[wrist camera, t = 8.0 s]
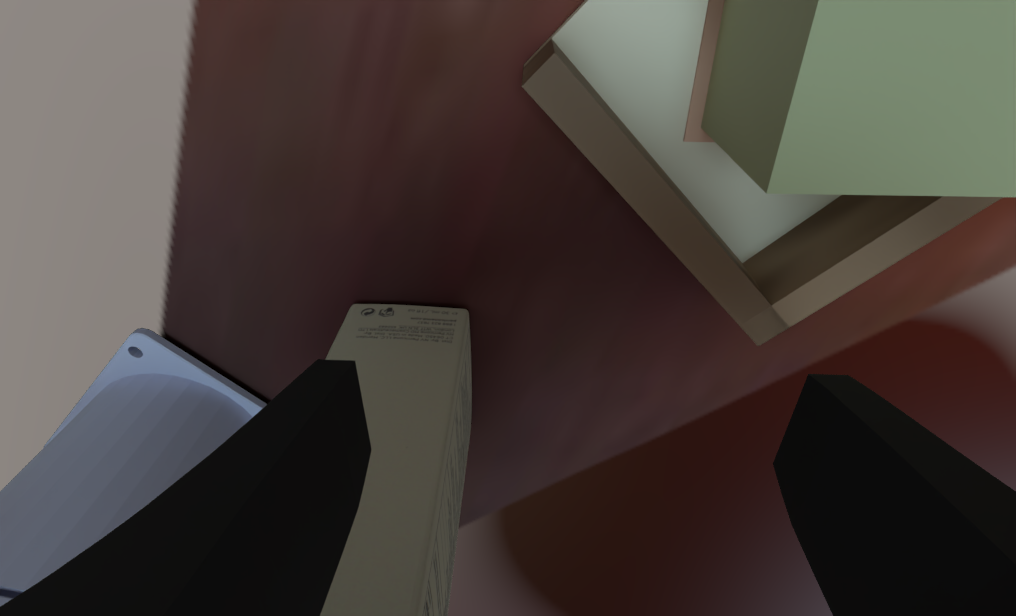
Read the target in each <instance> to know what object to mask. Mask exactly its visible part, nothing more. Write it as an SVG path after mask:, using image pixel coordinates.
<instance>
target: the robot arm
mask: <svg viewBox="0 0 1016 616" xmlns="http://www.w3.org/2000/svg"><path fill="white" fill-rule="evenodd" d="M138 348H139V349H140V350H139V349H138ZM371 450H372V449H371V443H370V438H369V433H368V427H367V422H366V417H365V411H364V406H363V400H362V395H361V390H360V384H359V379H358V374H357V368H356V363H355V361H354V360H320V359H318V360H317V361H316V362H314V363H313V364H312V365H311V366H310V367H308V368H307V369H306V370H305V371H304V372H303V373H302V374H301V375H299V376H298V377H297V378H296V379H295V380H294V381H293V382H292V383H291V384H289V385H288V386H287V387H286V388H285V389H284V390H283V391H282V392H281V393H279V394H278V395H277V396H276V397H275V398H274V399H273V400H272V401H271V402H269V403H268V404H266V403H265V402H263V401H262V400H260V399H258V398H257V397H255V396H254V395H252V394H251V393H249V392H247V391H246V390H244V389H243V388H241V387H240V386H238V385H236V384H235V383H233V382H232V381H230V380H229V379H227V378H225V377H224V376H222V375H221V374H219V373H218V372H216V371H214V370H213V369H211V368H210V367H208V366H207V365H205V364H203V363H202V362H200V361H199V360H197V359H196V358H194V357H192V356H191V355H189V354H188V353H186V352H185V351H183V350H181V349H180V348H178V347H177V346H175V345H174V344H172V343H170V342H169V341H167V340H166V339H164V338H163V337H161V336H159V335H158V334H156V333H155V332H153V331H151V330H149V329H144V328H140V329H137V330H135V331H134V332H133V333H132V334H131V335H130V336H129V337H128V338H127V339H126V341H125V342H124V343H123V345H122V346H121V347H120V349H119V350H118V351H117V353H116V354H115V355H114V356H113V358H112V359H111V360H110V361H109V363H108V364H107V365H106V367H105V368H104V369H103V371H102V372H101V373H100V374H99V376H98V377H97V378H96V380H95V381H94V382H93V383H92V385H91V386H90V387H89V389H88V390H87V391H86V393H85V394H84V395H83V396H82V398H81V399H80V400H79V402H78V403H77V404H76V406H75V407H74V408H73V409H72V411H71V412H70V413H69V415H68V416H67V417H66V418H65V420H64V421H63V422H62V424H61V425H60V426H59V428H58V429H57V430H56V432H55V433H54V434H53V435H52V437H51V438H50V439H49V440H48V442H47V443H46V444H45V446H44V448H43V450H41V451H40V452H39V453H38V454H37V455H36V456H35V457H34V458H33V460H31V461H30V462H29V463H28V464H27V465H26V466H25V468H23V469H22V470H21V471H20V472H19V473H18V474H17V475H16V476H15V477H14V478H13V479H12V480H11V481H10V482H9V483H8V485H6V486H5V487H4V488H3V489H2V490H1V492H0V616H320V614H321V612H322V609H323V606H324V603H325V600H326V598H327V595H328V592H329V589H330V587H331V584H332V581H333V578H334V576H335V573H336V570H337V567H338V564H339V562H340V559H341V556H342V553H343V551H344V548H345V545H346V542H347V539H348V536H349V534H350V531H351V528H352V525H353V522H354V519H355V516H356V513H357V511H358V508H359V503H360V499H361V495H362V491H363V487H364V483H365V478H366V473H367V469H368V464H369V460H370V455H371ZM773 465H774V468H775V472H776V476H777V479H778V483H779V486H780V489H781V493H782V496H783V499H784V502H785V505H786V509H787V512H788V515H789V518H790V521H791V524H792V526H793V528H794V531H795V533H796V535H797V538H798V540H799V542H800V544H801V547H802V549H803V551H804V553H805V555H806V558H807V560H808V562H809V564H810V566H811V569H812V571H813V573H814V575H815V577H816V580H817V582H818V584H819V586H820V588H821V590H822V593H823V595H824V597H825V599H826V601H827V603H828V605H829V608H830V610H831V612H832V614H833V616H1016V491H1014V490H1013V489H1011V488H1010V487H1008V486H1007V485H1005V484H1004V483H1002V482H1001V481H1000V480H998V479H997V478H995V477H994V476H992V475H991V474H990V473H988V472H987V471H985V470H984V469H982V468H981V467H980V466H978V465H977V464H975V463H974V462H972V461H971V460H970V459H968V458H967V457H965V456H964V455H963V454H961V453H960V452H958V451H957V450H955V449H954V448H952V447H951V446H950V445H948V444H947V443H946V442H944V441H943V440H941V439H940V438H938V437H937V436H936V435H934V434H933V433H931V432H930V431H929V430H927V429H926V428H925V427H923V426H922V425H920V424H919V423H918V422H916V421H915V420H913V419H912V418H911V417H909V416H908V415H906V414H905V413H904V412H902V411H901V410H899V409H898V408H896V407H895V406H893V405H892V404H891V403H889V402H888V401H886V400H885V399H883V398H882V397H881V396H879V395H878V394H876V393H875V392H873V391H872V390H870V389H869V388H867V387H866V386H864V385H863V384H861V383H859V382H858V381H856V380H855V379H853V378H852V377H850V376H848V375H823V374H822V375H821V374H808V376H807V379H806V382H805V384H804V387H803V389H802V392H801V394H800V397H799V399H798V402H797V404H796V407H795V410H794V412H793V414H792V417H791V419H790V422H789V425H788V427H787V430H786V432H785V435H784V437H783V440H782V442H781V445H780V447H779V450H778V452H777V455H776V457H775V460H774V462H773Z"/></svg>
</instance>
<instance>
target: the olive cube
mask: <svg viewBox="0 0 1016 616" xmlns="http://www.w3.org/2000/svg"><path fill="white" fill-rule="evenodd" d="M701 128H702V129H703V130H704V131H705V132H706V133H707V134H708V135H709V136H710V137H711V138H712V139H713V140H714V141H715V142H716V143H717V144H718V145H719V146H720V147H721V148H722V149H723V150H724V151H725V152H726V153H727V154H728V155H729V156H730V157H731V158H732V160H733V161H734V162H735V163H736V164H737V165H738V166H739V167H740V168H741V169H742V170H743V171H744V172H745V173H746V174H747V175H748V176H749V177H750V178H751V179H752V180H753V181H754V182H755V183H756V184H757V185H758V186H759V187H760V188H761V189H762V190H763V191H764V192H765V193H766V194H823V195H895V196H966V197H1016V0H725V2H724V7H723V13H722V18H721V23H720V29H719V34H718V39H717V44H716V50H715V55H714V60H713V66H712V71H711V76H710V82H709V87H708V92H707V98H706V103H705V108H704V113H703V119H702V124H701Z"/></svg>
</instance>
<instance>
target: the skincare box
mask: <svg viewBox="0 0 1016 616" xmlns="http://www.w3.org/2000/svg"><path fill="white" fill-rule="evenodd" d="M325 360H354V361H355V363H356V368H357V374H358V379H359V384H360V390H361V395H362V400H363V406H364V411H365V417H366V422H367V427H368V433H369V438H370V443H371V449H372V450H371V455H370V460H369V464H368V469H367V473H366V478H365V483H364V487H363V491H362V495H361V499H360V503H359V508H358V511H357V513H356V516H355V519H354V522H353V525H352V528H351V531H350V534H349V536H348V539H347V542H346V545H345V548H344V551H343V553H342V556H341V559H340V562H339V564H338V567H337V570H336V573H335V576H334V578H333V581H332V584H331V587H330V589H329V592H328V595H327V598H326V600H325V603H324V606H323V609H322V612H321V614H320V616H447V615H448V607H449V599H450V590H451V582H452V574H453V566H454V558H455V550H456V542H457V534H458V526H459V518H460V510H461V502H462V494H463V486H464V478H465V470H466V462H467V454H468V447H469V439H470V431H471V413H472V375H471V342H470V325H469V312H468V311H467V310H466V309H460V308H444V307H430V306H414V305H395V304H353V305H352V306H351V308H350V309H349V311H348V313H347V316H346V318H345V320H344V322H343V324H342V326H341V328H340V330H339V332H338V334H337V336H336V339H335V341H334V342H333V344H332V346H331V348H330V351H329V353H328V355H327V357H326V359H325Z"/></svg>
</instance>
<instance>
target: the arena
mask: <svg viewBox="0 0 1016 616" xmlns="http://www.w3.org/2000/svg"><path fill="white" fill-rule="evenodd" d="M724 2H725V0H585V1H584V2H583V3H582V4H581V5H580V6H579V7H578V8H577V9H576V11H575V12H574V13H573V14H572V15H571V16H570V17H569V18H568V19H567V20H566V21H565V22H564V23H563V24H562V25H561V26H560V27H559V28H558V29H557V30H556V31H555V33H554V34H553V35H552V36H551V37H550V38H549V39H548V40H547V41H546V42H545V43H544V44H543V45H542V46H541V47H540V48H539V49H538V50H537V51H536V52H535V53H534V55H533V56H532V57H531V58H530V59H529V60H528V61H527V62H526V63H525V64H524V67H523V78H522V87H523V88H524V89H525V91H526V92H527V93H528V94H529V95H530V96H531V97H532V98H533V99H534V100H535V102H536V103H537V104H538V105H539V106H540V107H541V108H542V109H543V110H544V111H545V113H546V114H547V115H548V116H549V117H550V118H551V119H552V120H553V121H554V122H555V124H556V125H557V126H558V127H559V128H560V129H561V130H562V131H563V132H564V133H565V135H566V136H567V137H568V138H569V139H570V140H571V141H572V142H573V143H574V144H575V146H576V147H577V148H578V149H579V150H580V151H581V152H582V153H583V154H584V155H585V156H586V158H587V159H588V160H589V161H590V162H591V163H592V164H593V165H594V166H595V167H596V169H597V170H598V171H599V172H600V173H601V174H602V175H603V176H604V177H605V178H606V180H607V181H608V182H609V183H610V184H611V185H612V186H613V187H614V188H615V189H616V191H617V192H618V193H619V194H620V195H621V196H622V197H623V198H624V199H625V200H626V202H627V203H628V204H629V205H630V206H631V207H632V208H633V209H634V210H635V211H636V213H637V214H638V215H639V216H640V217H641V218H642V219H643V220H644V221H645V222H646V223H647V225H648V226H649V227H650V228H651V229H652V230H653V231H654V232H655V233H656V234H657V236H658V237H659V238H660V239H661V240H662V241H663V242H664V243H665V244H666V245H667V247H668V248H669V249H670V250H671V251H672V252H673V253H674V254H675V255H676V256H677V258H678V259H679V260H680V261H681V262H682V263H683V264H684V265H685V266H686V267H687V269H688V270H689V271H690V272H691V273H692V274H693V275H694V276H695V277H696V278H697V280H698V281H699V282H700V283H701V284H702V285H703V286H704V287H705V288H706V289H707V290H708V292H709V293H710V294H711V295H712V296H713V297H714V298H715V299H716V300H717V301H718V303H719V304H720V305H721V306H722V307H723V308H724V309H725V310H726V311H727V312H728V314H729V315H730V316H731V317H732V318H733V319H734V320H735V321H736V322H737V323H738V325H739V326H740V327H741V328H742V329H743V330H744V331H745V332H746V333H747V334H748V336H749V337H750V338H751V339H752V340H753V341H754V342H755V343H756V344H757V345H758V346H760V345H761V344H763V343H765V342H766V341H768V340H770V339H771V338H773V337H774V336H776V335H778V334H779V333H781V332H783V331H784V330H786V329H788V328H789V327H791V326H793V325H794V324H796V323H797V322H799V321H801V320H802V319H804V318H806V317H807V316H809V315H811V314H812V313H814V312H816V311H817V310H819V309H820V308H822V307H824V306H825V305H827V304H829V303H830V302H832V301H834V300H835V299H837V298H838V297H840V296H842V295H843V294H845V293H847V292H848V291H850V290H852V289H853V288H855V287H857V286H858V285H860V284H861V283H863V282H865V281H866V280H868V279H870V278H871V277H873V276H875V275H876V274H878V273H880V272H881V271H883V270H884V269H886V268H888V267H889V266H891V265H893V264H894V263H896V262H898V261H899V260H901V259H902V258H904V257H906V256H907V255H909V254H911V253H912V252H914V251H916V250H917V249H919V248H921V247H922V246H924V245H925V244H927V243H929V242H930V241H932V240H934V239H935V238H937V237H939V236H940V235H942V234H944V233H945V232H947V231H948V230H950V229H952V228H953V227H955V226H957V225H958V224H960V223H962V222H963V221H965V220H966V219H968V218H970V217H971V216H973V215H975V214H976V213H978V212H980V211H981V210H983V209H985V208H986V207H988V206H989V205H991V204H993V203H994V202H996V201H998V200H999V199H1001V198H1003V197H966V196H895V195H823V194H766V193H765V192H764V191H763V190H762V189H761V188H760V187H759V186H758V185H757V184H756V183H755V182H754V181H753V180H752V179H751V178H750V177H749V176H748V175H747V174H746V173H745V172H744V171H743V170H742V169H741V168H740V167H739V166H738V165H737V164H736V163H735V162H734V161H733V160H732V158H731V157H730V156H729V155H728V154H727V153H726V152H725V151H724V150H723V149H722V148H721V147H720V146H719V145H718V144H717V143H716V142H715V141H714V140H713V139H712V138H711V137H710V136H709V135H708V134H707V133H706V132H705V131H704V130H703V129H702V128H701V124H702V119H703V113H704V108H705V103H706V98H707V92H708V87H709V82H710V76H711V71H712V66H713V60H714V55H715V50H716V44H717V39H718V34H719V29H720V23H721V18H722V13H723V7H724Z"/></svg>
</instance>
